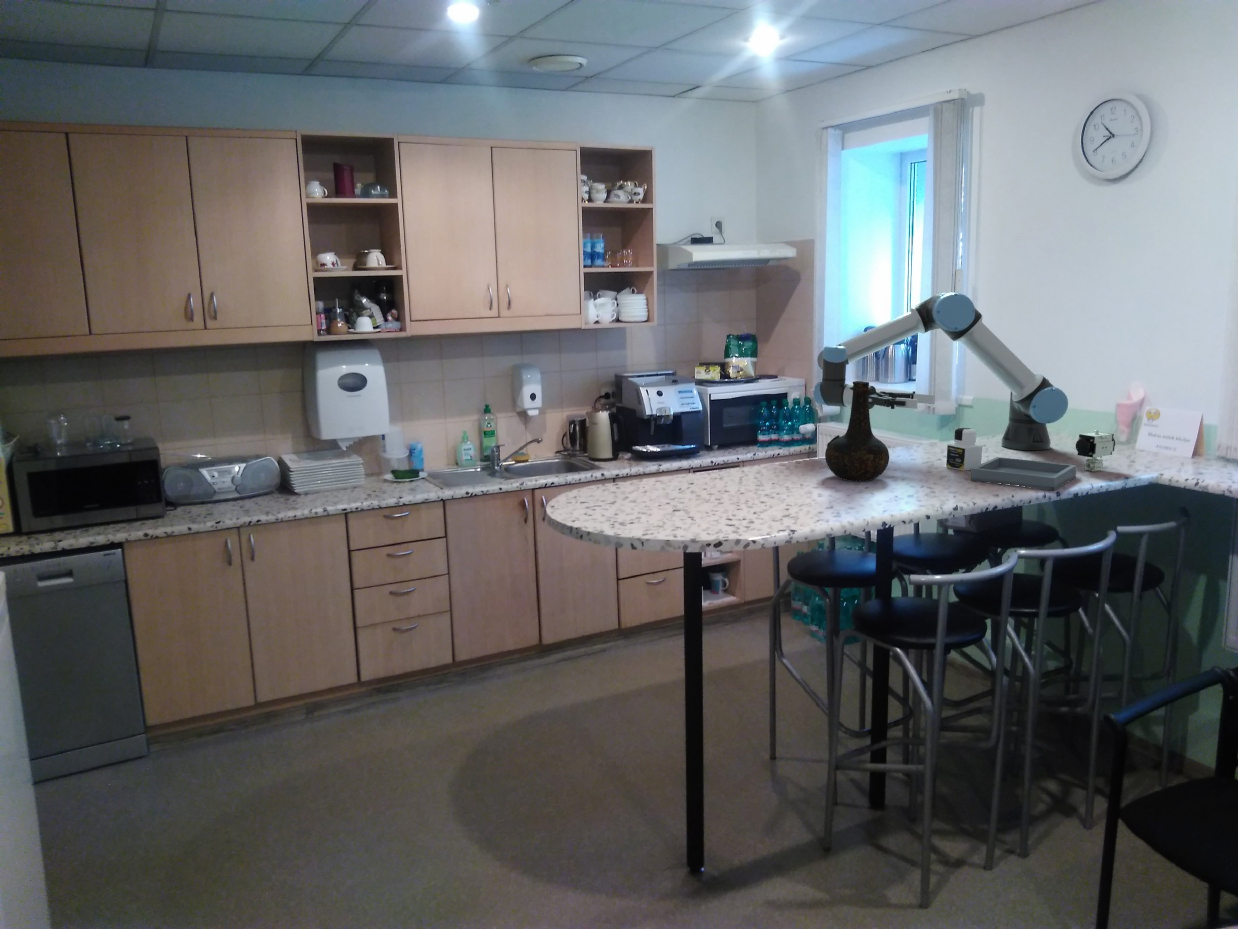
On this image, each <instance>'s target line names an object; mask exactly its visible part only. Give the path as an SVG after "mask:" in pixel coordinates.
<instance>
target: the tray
mask: <svg viewBox="0 0 1238 929" xmlns="http://www.w3.org/2000/svg"><path fill="white" fill-rule="evenodd" d="M1076 477H1077V465H1075V464H1068V463H1067V464H1066V463H1059V462H1047V461H1040V460H1039V461H1037V460H1029V459H1022V458H1021V459H1019V458H1011V457H1004V456H1003V457H1001V456H996V457H994V458H991V459H988V460H987V461H985V462H983V463H982V462H981V464H980V465H978V466H976V467H974V468H971V470H970V482H977V481H981V482H980V483H985V482H990V483H989V484H993V483H1001V484H1010V485H1019V486H1025V487H1031V488H1030V489H1034V488H1036V489H1035V490H1043V491H1053V492H1055V491H1057V490H1058V489H1059V487H1060V488H1062V485H1063V484H1064V485H1066V484H1068V483H1069V482H1070V480H1071V481H1072V480H1073V478H1074V479H1076ZM1068 481H1069V482H1068ZM1065 483H1066V484H1065ZM1001 484H1000V485H1001ZM1064 485H1063V486H1064ZM1025 487H1024V488H1025Z"/></svg>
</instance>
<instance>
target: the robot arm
mask: <svg viewBox="0 0 1238 929" xmlns="http://www.w3.org/2000/svg"><path fill="white" fill-rule="evenodd" d="M937 329H940V330H942V332H943V333H944V334H945V335H946V336H947V337H949V339H950V340H952V341H953V342H960V343H961V344H963V346H965V347H966V348H967V349H968V350H969V351H970V353H972V354H973V355H974V357H976V358H977V359H978V360H979V361H980V362H981V363H982V364H983V365H984V366H985V367H986V368H987V369H988V370H989V371H990V372H991V373H992V374H993V375H994V376H995V377H996V378H997V379H998V380H999V381H1000V382H1001V383H1002V384H1003V385H1004V386H1005V387H1006V388H1007V389H1008V390H1009V391H1010V397H1009V412H1008V424H1007V426H1006V428H1005V430H1004V433H1003V434H1002V435H1003V436H1002V438H1001V446H1002V447H1003V448H1007V449H1011V450H1012V449H1013V450H1020V451H1021V450H1022V451H1044V450H1049V449H1051V438H1050V434H1049V430H1048V428H1047V427H1048V426H1047V424H1053V423H1057V422H1058V421H1060V420H1061V419H1062V418H1063V417H1064V416H1065V414H1066V413H1067V411H1068V407H1069V399H1068V396H1067V395H1066V393H1065V391H1063V390H1062V389H1060V388H1059V387H1056V386H1054V385H1053V384H1052V383H1051V382H1050V379H1048V378H1046V377H1045V376H1044V374H1042V373H1036V374H1035V373H1034V372H1033V371H1032V370H1031V369H1030V368H1029V367H1028V366H1027V365H1026V364H1025V363H1024V362H1023V361H1022V360H1021V359H1020V358H1019V357H1018V356H1017V355H1016V354H1015V353H1014V352H1013V351H1012V350H1011V349H1010V348H1009V347H1008V346H1006V344H1005V343H1004V342H1003V341H1002V340H1000V338H998V337H997V335H995V333H993V331H992V330H990V328H988V326H987V325H986V324H985V323H984V322H983V315H982V313H981V312H980V311H979V310H978V309H977V308H976V307H975V305H974V303H973V301H972V300H971V298H970V297H969V296H967V295H966V294H964V293H961V292H958V291H957V292H956V291H950V292H938V293H936V294H933V296H930V297H929V298H927V299H925V300H924V301H921V302H920V303H918V304H916V305H914V306H912V307H911V308H910V310H909V311H908V312H905V313H904V314H902V315H899V316H898V317H895V318H893V319H890V320H889V321H886V322H884V323H882V324H879V325H877V326H875V327H873V328H871V329H869V330H867V331H865V332H862V333H860V334H858V335H856V336H853V337H851V338H849V339H847V340H844V341H843V342H840V343H839V344H836V345H827V346H824V347H823V350H821V351H820V352H819V353H818V355H817V358H816V359H817V360H816V361H817V366H818V367H819V368H820V370H822V371H821V372H822V373H821V374H822V376H821V381H818V382H817V383H816V384H815V385H814V388H813V389H814V390H813V399H814V402H815V403H816V404H818V405H823V406H827V407H840V408H841V407H842V408H850V409H849V410H851V406H852V396H853V390H850V388H851V387H853V383H846V376H847V374H846V372H847V366H848V365H849V364H852V363H854V362H857V361H859V360H861V359H862V358H865V357H867V356H870V355H872V354H874V353H876V352H878V351H881V350H883V349H885V348H887V347H890V346H891V345H894V344H896V343H898V342H899V343H900V342H901V341H903V340H905V339H908V338H910V337H912V336H914V335H916V334H918V333H920V334H922V335H923V334H926V333H928V332H930V331H935V330H937ZM869 388H872V390H870V391H869V410H871V409H874V407H875V406H880V407H884V408H885V407H886V408H890V409H891V410H895V408H905V409H915V410H917V409H918V404H925V405H926V404H928V405H935V400H936V395H935V394H924V393H923V394H922V393H916V391H915V390H914V391H912V392H892V391H890V392H889V391H888V392H887V391H883V390H882V391H877V389H876V387H875V386H873V385H870V384H869Z"/></svg>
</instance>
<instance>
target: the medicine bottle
mask: <svg viewBox="0 0 1238 929" xmlns="http://www.w3.org/2000/svg"><path fill="white" fill-rule="evenodd" d="M976 441H977V430H976V429H974V428H969V427H958V428H956V429H954V442H955V443H948V444H947V446H946V464H945V465H946V466H945V467H946V468H950V469H953V470H959V471H962V472H964V471H966V470H967V471H971V468H974V467H976V466H978V465H980V464H982V454H983V445H982V444H975V443H977V442H976Z"/></svg>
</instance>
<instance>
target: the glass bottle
mask: <svg viewBox="0 0 1238 929" xmlns="http://www.w3.org/2000/svg"><path fill="white" fill-rule="evenodd" d="M852 384H853V387H851V388H850V390H853V396H852V406H851V409H850V415H849V421H848V426H847V430H846V432H845V433H844V434H843V435H842V436H840V435H839V434H837V435H836V436H834V437H833V438H832V439H831V440H830V441H829V442H827V444H826V448H825V452H824V459H825V462H826V465H827V468H829V471H831V473H832V474H834V476H836V477H838V478H839V479H841V480H843V481H848V482H868V481H873V480H875V479H876V478H879V476H881V475H882V474H883V473H884V472H885V470H886V469H887V467H888V465H889V462H890V452H889V449H888V447H887V446H886V444H885V443H884V442H883V441H882V440H880V439H879V438H877V437H876V436H875V435H874V433H873V431H872V425H871V417H870V409H869V391H870V390H872V388H869V385H870V382H868V381H863V380H862V381H861V380H854V381H852Z"/></svg>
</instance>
